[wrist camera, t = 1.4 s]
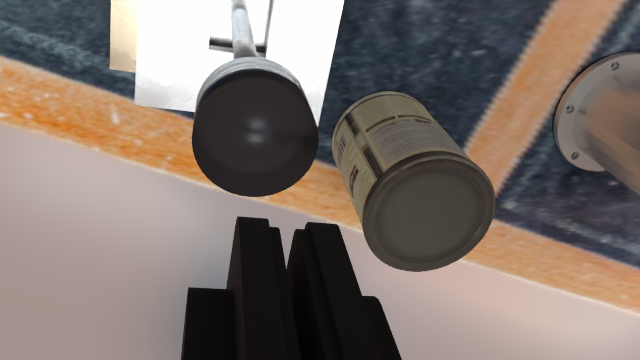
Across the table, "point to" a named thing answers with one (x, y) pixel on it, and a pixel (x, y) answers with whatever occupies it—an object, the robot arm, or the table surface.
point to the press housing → (216, 47)
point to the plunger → (251, 110)
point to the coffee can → (410, 183)
